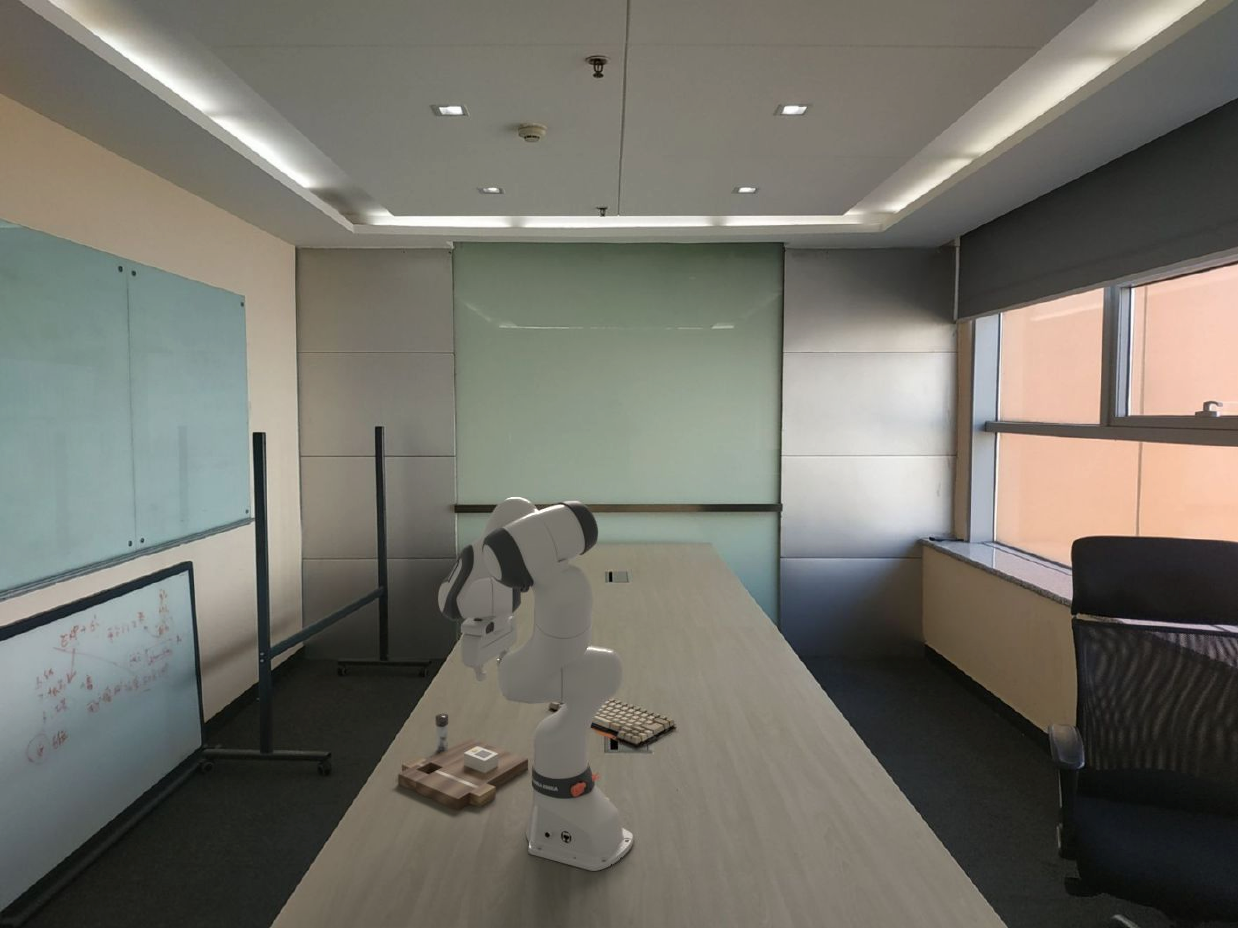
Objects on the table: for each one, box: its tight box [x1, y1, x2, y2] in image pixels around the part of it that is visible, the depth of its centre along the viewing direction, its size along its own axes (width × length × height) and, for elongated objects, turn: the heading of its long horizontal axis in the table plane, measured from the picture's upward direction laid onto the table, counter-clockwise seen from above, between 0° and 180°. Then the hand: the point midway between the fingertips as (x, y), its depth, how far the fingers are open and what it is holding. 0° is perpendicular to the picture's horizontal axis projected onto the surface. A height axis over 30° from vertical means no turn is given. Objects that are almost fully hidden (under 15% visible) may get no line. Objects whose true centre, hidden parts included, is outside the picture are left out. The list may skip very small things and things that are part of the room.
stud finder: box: [464, 746, 498, 773], centre depth 175 cm, size 7×4×3 cm, turn 56°
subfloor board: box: [397, 738, 529, 811], centre depth 175 cm, size 26×23×2 cm
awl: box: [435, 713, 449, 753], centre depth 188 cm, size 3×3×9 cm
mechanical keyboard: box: [548, 697, 677, 750], centre depth 209 cm, size 38×19×3 cm, turn 50°
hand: (491, 673), depth 178 cm, fingers open, 8 cm apart
